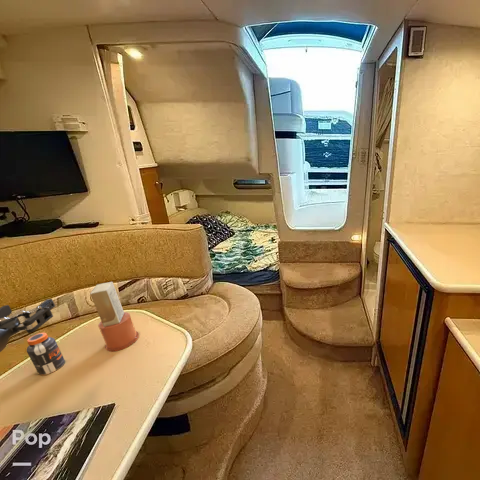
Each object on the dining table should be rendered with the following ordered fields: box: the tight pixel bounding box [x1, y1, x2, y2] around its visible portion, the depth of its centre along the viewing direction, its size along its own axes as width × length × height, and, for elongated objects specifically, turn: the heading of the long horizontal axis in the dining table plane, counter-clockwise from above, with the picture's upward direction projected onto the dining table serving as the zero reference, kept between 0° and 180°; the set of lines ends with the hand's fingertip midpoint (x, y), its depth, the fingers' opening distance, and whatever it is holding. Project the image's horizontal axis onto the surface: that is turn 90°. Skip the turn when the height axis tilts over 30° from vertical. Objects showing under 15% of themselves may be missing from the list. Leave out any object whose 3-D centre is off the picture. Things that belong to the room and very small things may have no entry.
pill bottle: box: [26, 332, 66, 376], centre depth 78 cm, size 6×6×11 cm
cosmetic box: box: [89, 281, 125, 327], centre depth 84 cm, size 6×4×12 cm
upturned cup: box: [97, 311, 140, 353], centre depth 88 cm, size 9×9×9 cm
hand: (30, 305), depth 63 cm, fingers open, 8 cm apart
